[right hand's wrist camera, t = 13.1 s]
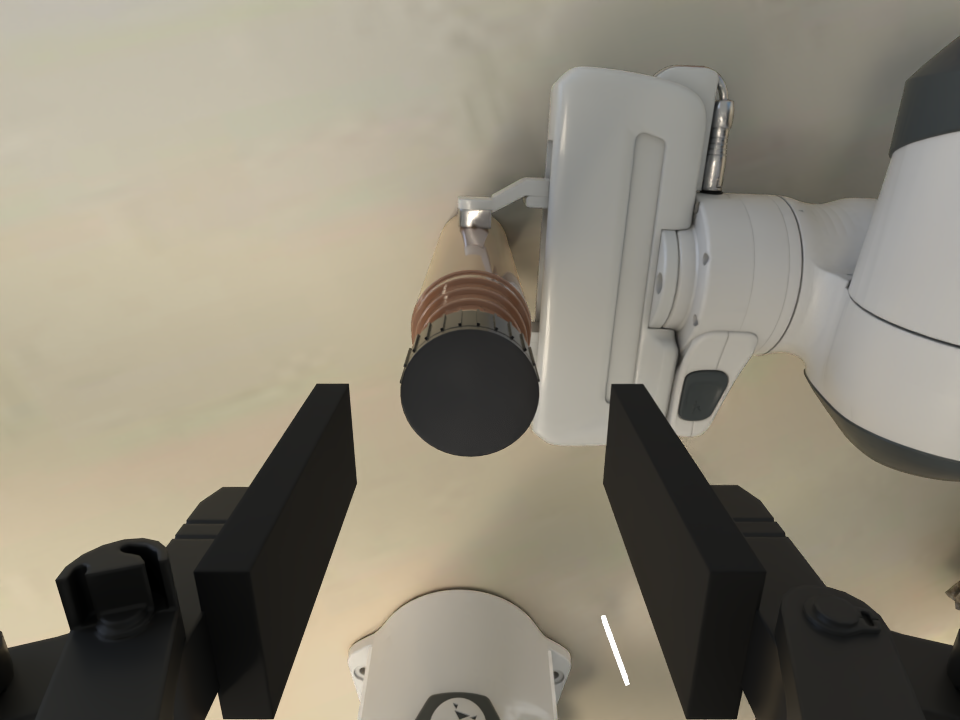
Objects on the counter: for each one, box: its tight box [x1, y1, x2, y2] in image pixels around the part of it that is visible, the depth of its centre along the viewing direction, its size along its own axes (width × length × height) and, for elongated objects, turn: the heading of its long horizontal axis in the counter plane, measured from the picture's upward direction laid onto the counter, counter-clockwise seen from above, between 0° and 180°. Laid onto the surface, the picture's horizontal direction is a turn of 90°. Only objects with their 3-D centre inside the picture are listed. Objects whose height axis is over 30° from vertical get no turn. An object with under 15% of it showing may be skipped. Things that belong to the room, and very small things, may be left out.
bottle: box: [411, 215, 532, 347], centre depth 28 cm, size 4×4×24 cm
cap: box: [400, 309, 540, 457], centre depth 18 cm, size 4×4×2 cm
